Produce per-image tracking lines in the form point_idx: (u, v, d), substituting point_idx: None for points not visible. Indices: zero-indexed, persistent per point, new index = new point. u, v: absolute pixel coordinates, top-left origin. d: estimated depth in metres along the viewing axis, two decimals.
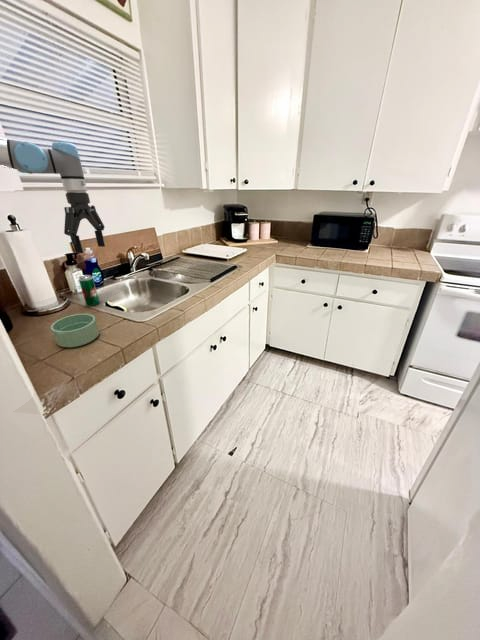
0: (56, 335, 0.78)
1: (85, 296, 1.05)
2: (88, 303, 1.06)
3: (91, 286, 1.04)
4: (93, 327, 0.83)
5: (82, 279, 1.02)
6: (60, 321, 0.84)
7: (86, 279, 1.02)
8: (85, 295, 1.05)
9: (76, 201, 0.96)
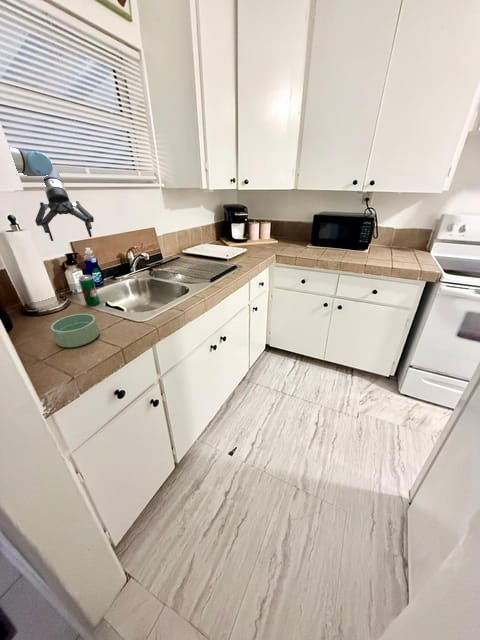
0: (56, 335, 0.78)
1: (85, 296, 1.05)
2: (88, 303, 1.06)
3: (91, 286, 1.04)
4: (93, 327, 0.83)
5: (82, 279, 1.02)
6: (60, 321, 0.84)
7: (86, 279, 1.02)
8: (85, 295, 1.05)
9: (48, 197, 1.04)
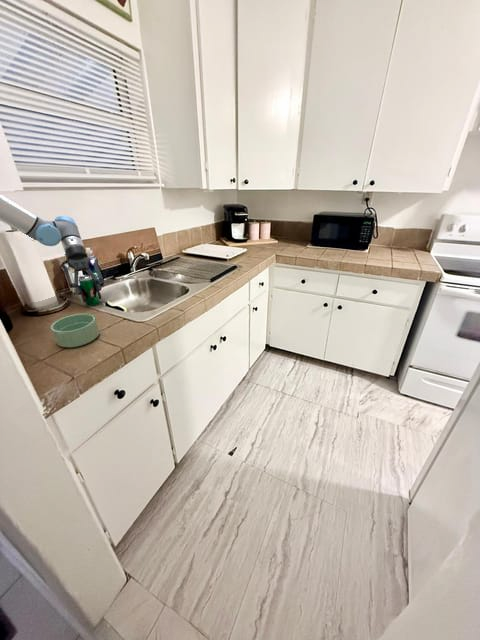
0: (56, 335, 0.78)
1: (85, 296, 1.05)
2: (88, 303, 1.06)
3: (91, 286, 1.04)
4: (93, 327, 0.83)
5: (82, 279, 1.02)
6: (60, 321, 0.84)
7: (86, 279, 1.02)
8: (85, 295, 1.05)
9: (67, 255, 1.05)
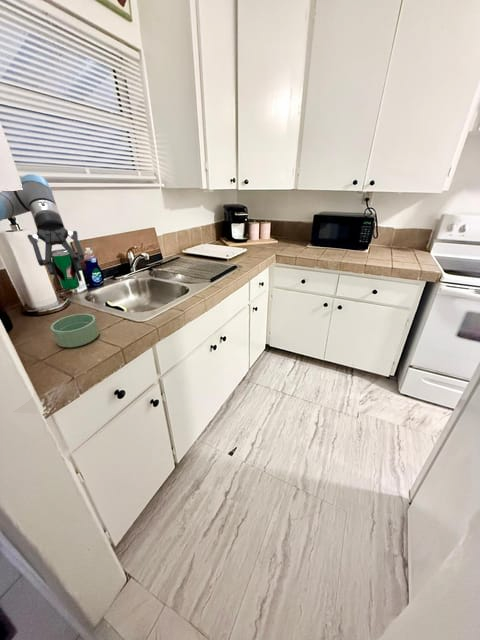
0: (56, 335, 0.78)
1: (60, 277, 0.81)
2: (64, 286, 0.82)
3: (68, 264, 0.80)
4: (93, 327, 0.83)
5: (55, 254, 0.78)
6: (60, 321, 0.84)
7: (61, 254, 0.78)
8: (60, 275, 0.81)
9: (36, 223, 0.81)
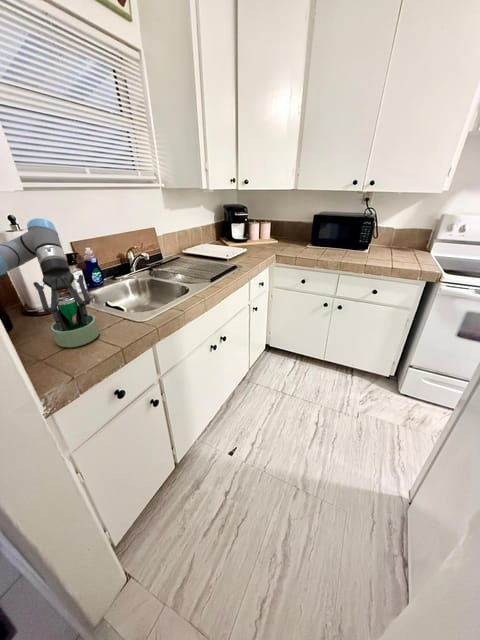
0: (56, 335, 0.78)
1: (66, 324, 0.80)
2: None
3: (74, 311, 0.79)
4: (93, 327, 0.83)
5: (61, 303, 0.77)
6: None
7: (66, 302, 0.77)
8: (66, 323, 0.80)
9: (42, 270, 0.80)
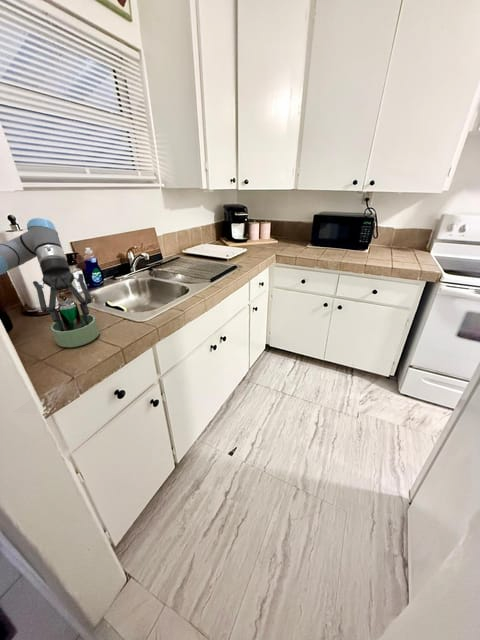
0: (56, 335, 0.78)
1: (67, 328, 0.81)
2: None
3: (75, 316, 0.80)
4: (93, 327, 0.83)
5: (62, 307, 0.77)
6: None
7: (67, 307, 0.78)
8: (67, 327, 0.80)
9: (42, 269, 0.80)
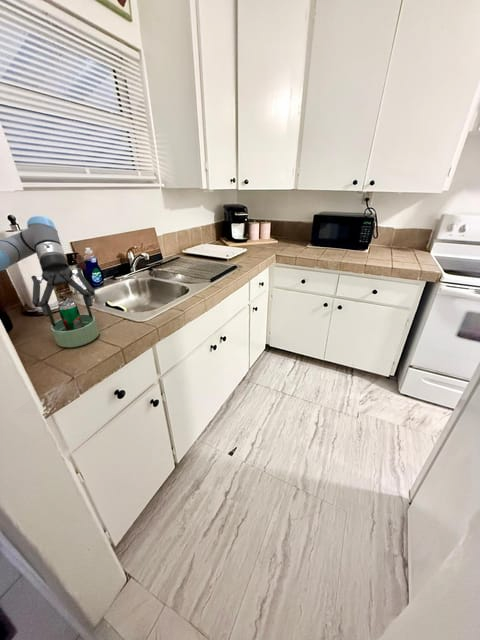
0: (56, 335, 0.78)
1: (67, 328, 0.81)
2: None
3: (75, 316, 0.80)
4: (93, 327, 0.83)
5: (62, 307, 0.77)
6: (60, 321, 0.84)
7: (67, 307, 0.78)
8: (67, 327, 0.80)
9: (41, 266, 0.82)
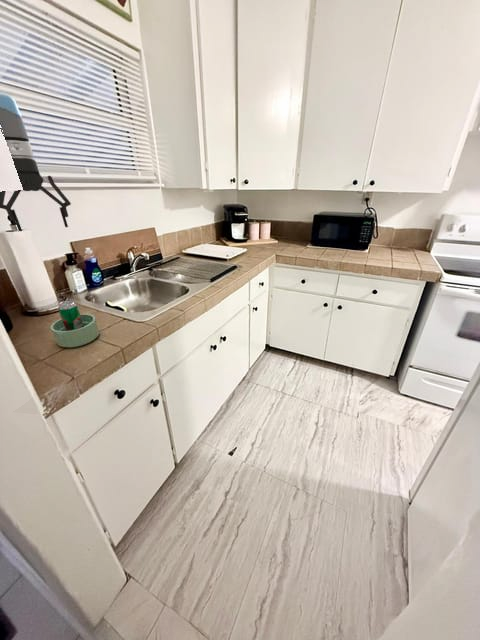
0: (56, 335, 0.78)
1: (67, 328, 0.81)
2: None
3: (75, 316, 0.80)
4: (93, 327, 0.83)
5: (62, 307, 0.77)
6: (60, 321, 0.84)
7: (67, 307, 0.78)
8: (67, 327, 0.80)
9: None
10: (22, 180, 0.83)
